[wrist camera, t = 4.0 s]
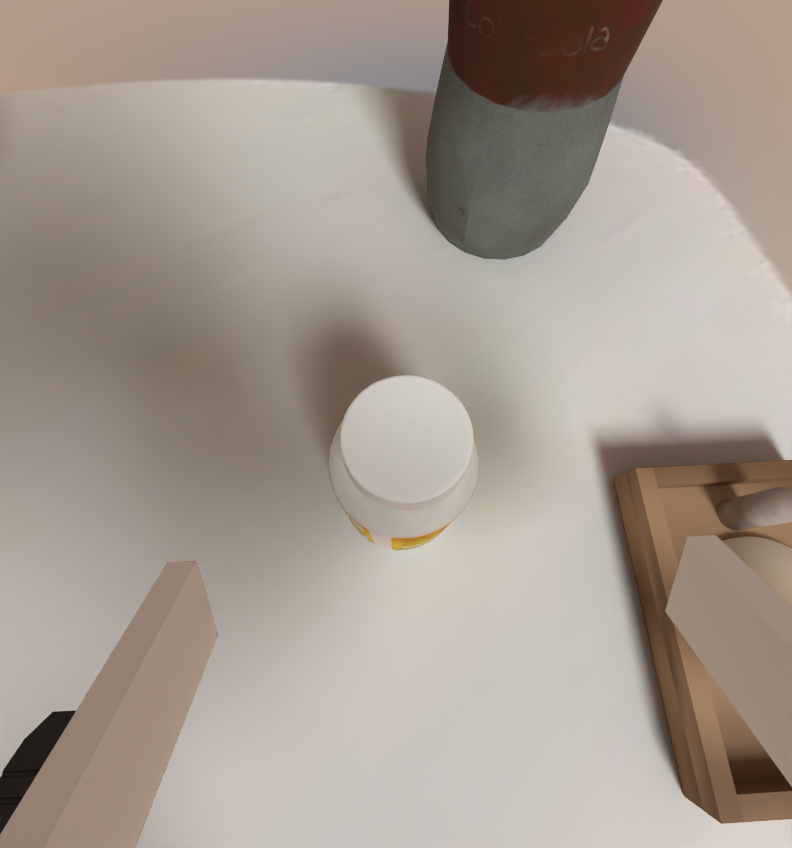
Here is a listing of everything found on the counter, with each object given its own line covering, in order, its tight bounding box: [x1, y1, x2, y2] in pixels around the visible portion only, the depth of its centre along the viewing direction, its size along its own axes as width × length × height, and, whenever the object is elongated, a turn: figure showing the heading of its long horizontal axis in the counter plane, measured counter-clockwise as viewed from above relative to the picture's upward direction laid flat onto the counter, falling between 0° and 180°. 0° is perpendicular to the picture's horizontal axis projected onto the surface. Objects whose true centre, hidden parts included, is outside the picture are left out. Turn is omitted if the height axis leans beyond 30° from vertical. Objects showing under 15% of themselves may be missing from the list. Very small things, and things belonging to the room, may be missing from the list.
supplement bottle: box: [329, 375, 479, 550], centre depth 18 cm, size 5×5×10 cm
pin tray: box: [614, 460, 792, 824], centre depth 18 cm, size 13×9×4 cm
